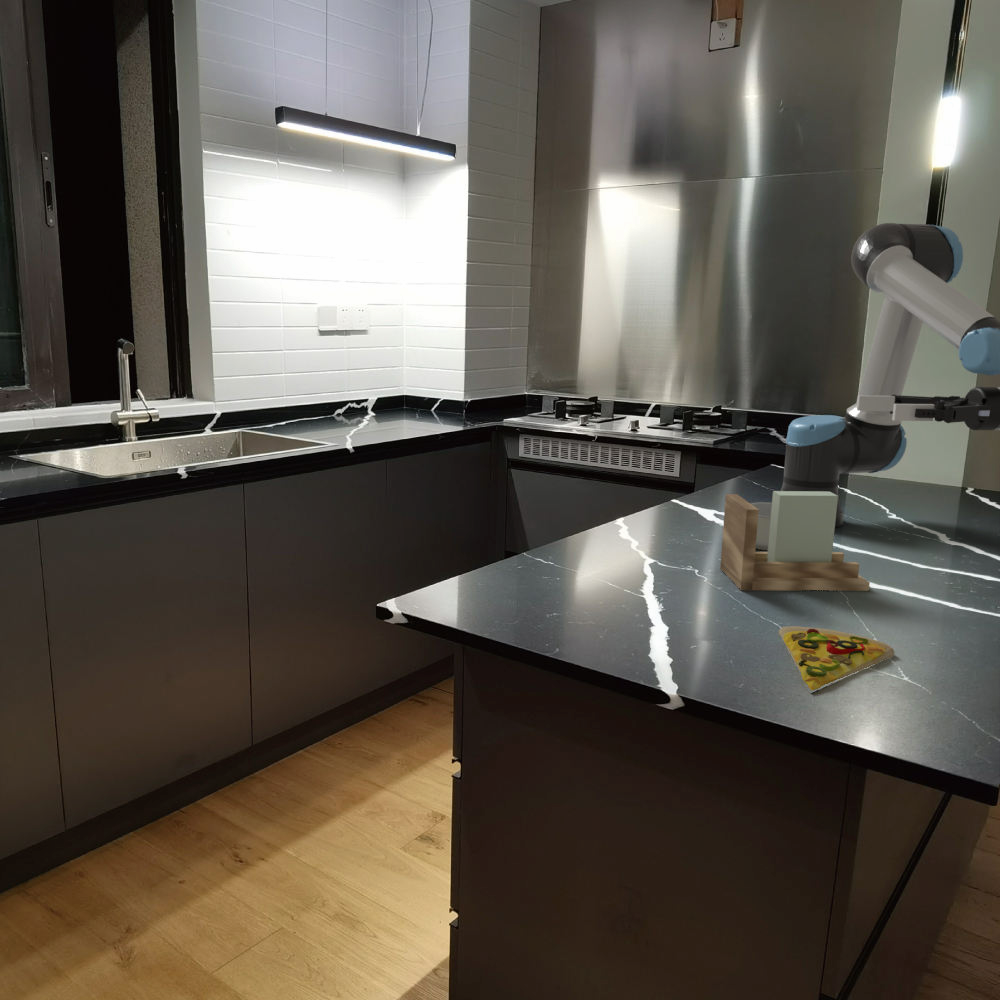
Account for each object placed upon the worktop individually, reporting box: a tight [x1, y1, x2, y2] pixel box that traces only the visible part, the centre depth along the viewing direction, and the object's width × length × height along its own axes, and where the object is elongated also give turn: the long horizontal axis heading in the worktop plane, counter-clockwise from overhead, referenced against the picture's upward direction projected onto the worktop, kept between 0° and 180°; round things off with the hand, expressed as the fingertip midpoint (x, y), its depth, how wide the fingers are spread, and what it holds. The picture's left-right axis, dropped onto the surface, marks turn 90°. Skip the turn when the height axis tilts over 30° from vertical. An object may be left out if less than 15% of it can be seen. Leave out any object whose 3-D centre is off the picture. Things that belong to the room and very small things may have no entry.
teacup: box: [750, 502, 772, 552], centre depth 172 cm, size 14×11×8 cm
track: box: [719, 493, 870, 592], centre depth 150 cm, size 22×12×14 cm, turn 92°
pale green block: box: [767, 490, 838, 562], centre depth 150 cm, size 10×4×14 cm, turn 92°
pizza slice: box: [778, 625, 896, 690], centre depth 115 cm, size 16×21×3 cm
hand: (874, 407), depth 150 cm, fingers open, 13 cm apart
